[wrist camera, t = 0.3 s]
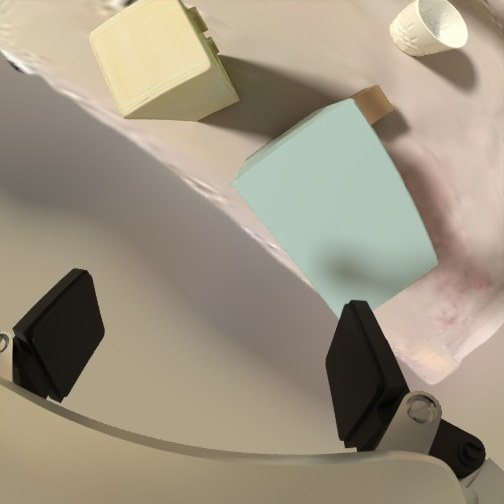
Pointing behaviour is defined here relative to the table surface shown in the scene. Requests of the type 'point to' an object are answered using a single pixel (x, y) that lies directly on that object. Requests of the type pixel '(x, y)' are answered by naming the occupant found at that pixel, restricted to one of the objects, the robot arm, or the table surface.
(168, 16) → the toy refrigerator
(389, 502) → the robot arm
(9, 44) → the table surface
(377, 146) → the cabinet
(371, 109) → the brown boxy piece
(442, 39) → the white cup
